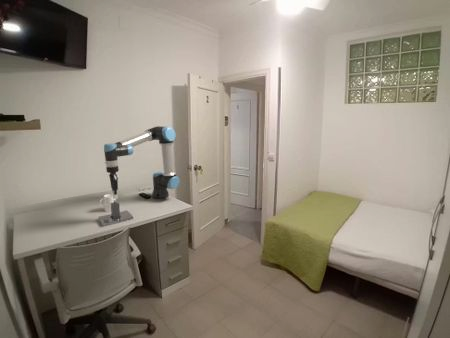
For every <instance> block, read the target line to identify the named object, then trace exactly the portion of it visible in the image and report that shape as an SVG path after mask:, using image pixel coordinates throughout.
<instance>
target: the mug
mask: <svg viewBox="0 0 450 338" xmlns="http://www.w3.org/2000/svg"><path fill="white" fill-rule="evenodd" d="M103 200H104V201H103ZM114 200H116V201H117V199H113V193H107V194H104V195H103V197H102V198H101V199H100V200H99V203H101V202H102V201H103V202H104V205H101V204H99V206H100V207H101V208H103V209H104V211H105V212H108V213H109V212H110V213H111V203H113V202H114Z"/></svg>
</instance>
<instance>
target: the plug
mask: <svg viewBox="0 0 450 338" xmlns="http://www.w3.org/2000/svg"><path fill="white" fill-rule="evenodd" d="M120 212H121V211H120V202H118V201H117V199H116V200H114V202H113V203H111V212H110V214H111V217H112V219H115V218H119V217H120Z"/></svg>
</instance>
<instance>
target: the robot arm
mask: <svg viewBox="0 0 450 338" xmlns="http://www.w3.org/2000/svg"><path fill="white" fill-rule="evenodd" d="M175 139H176V132H175V130H174V129H173V127H171V126H153V127H151V128H149V129H146V130H145V129H144V132H141V133H139V134H136V135H133V136H130V137H129V138H126V139H123V140H121V141H117V142H113V143H111V142H110V143H104V145H103V151H104V159H105V162H104V164H105V167H106V168H105V169H106V170H105V171H106V172H107V173H109V174H108V176H109V182H110V187H111V191H112V194H113V199H116V200H118V198H119V196H118V194H119V193H118V191H119V187H118V186H119V184H118V183H119V181H118V179H119V178H118V175H117V173H118V172H119V170H120V169H119V161H118V158H119V157H124V156H125V157H126V156H127V157H128V156H131V155H133V154H134V147H136V146H139V145H141V144H143V143H146V142H151V141H158V144H159V145H161V156H162V165H163V171H156V172H154V173H153V174H152V182H153V183H152V184H153V189H152V193H151V198H153V199H155V200H162V199H166V198H168V197H169V196H170V195H169V194H170V193H169V189H170V190H175V189H176V188H177V187H178V186H179V184H180V177H178V176H177V173H176V172H175V166H174V155H173V154H174V153H173V144H174V141H175Z"/></svg>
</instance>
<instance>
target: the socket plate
mask: <svg viewBox="0 0 450 338" xmlns="http://www.w3.org/2000/svg"><path fill="white" fill-rule="evenodd" d="M131 219H132V220H134V216H133V215H132V213H130V212H129V211H128V210H123V211H120V217H119V218H115V219H112V217H111V213H109V214H105V215H100V216H97V220H98V221H99V223H100V225H101V226H102V227H104V228H105V227H107V226H112V225H115V224H119V223H122V222H128V221H130V220H131ZM127 220H128V221H127Z"/></svg>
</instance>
